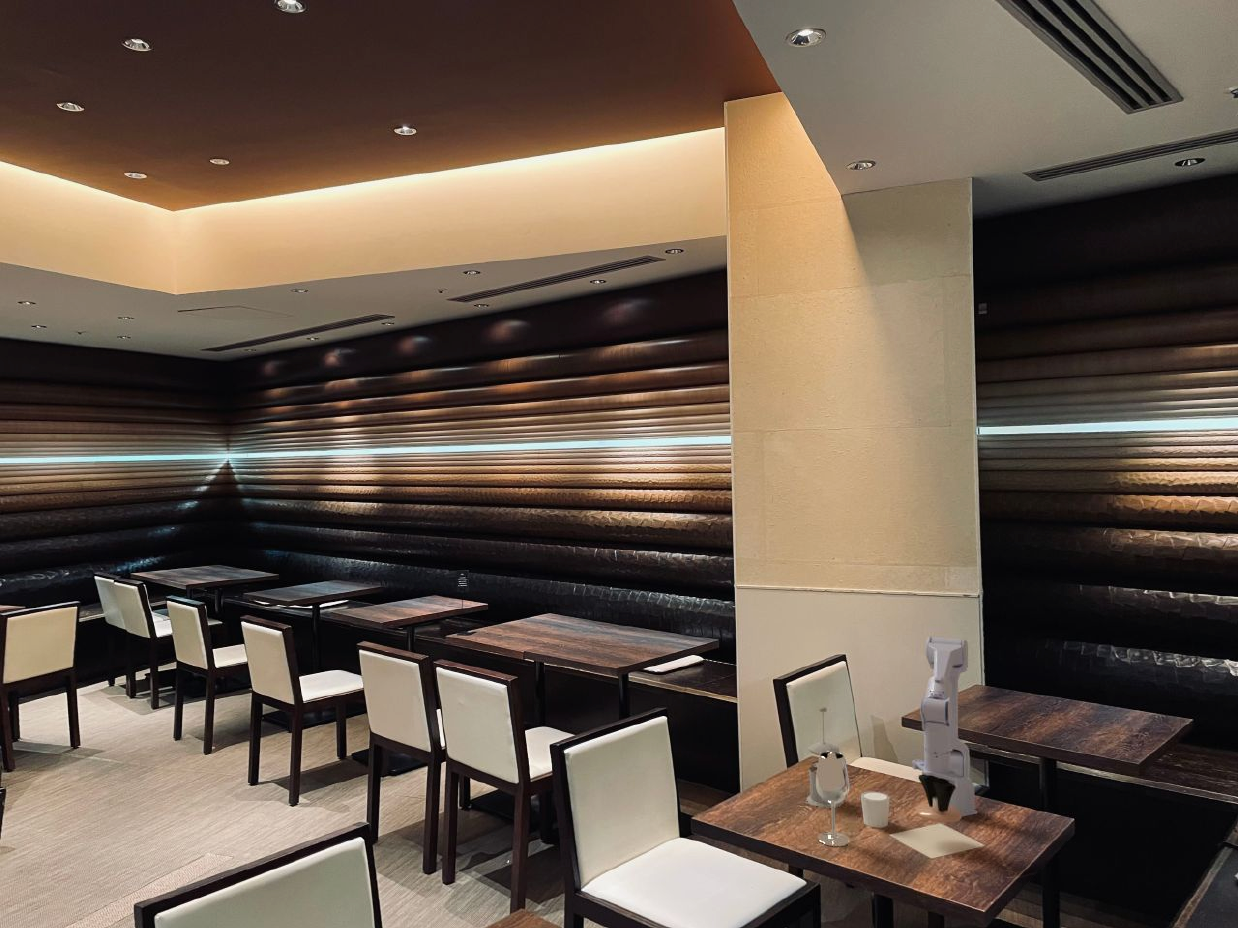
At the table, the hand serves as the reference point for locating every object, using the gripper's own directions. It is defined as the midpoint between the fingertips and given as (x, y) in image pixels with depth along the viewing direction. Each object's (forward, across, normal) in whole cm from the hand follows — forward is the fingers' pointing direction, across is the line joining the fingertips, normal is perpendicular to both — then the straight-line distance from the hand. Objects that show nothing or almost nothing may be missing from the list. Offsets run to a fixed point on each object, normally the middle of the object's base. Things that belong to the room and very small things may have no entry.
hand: (938, 808), depth 197 cm
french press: (+8, -33, -7) cm, 35 cm away
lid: (+1, 0, 0) cm, 1 cm away
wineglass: (+8, -12, -21) cm, 26 cm away
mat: (+8, -1, 0) cm, 8 cm away
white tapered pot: (+8, -15, -6) cm, 18 cm away
